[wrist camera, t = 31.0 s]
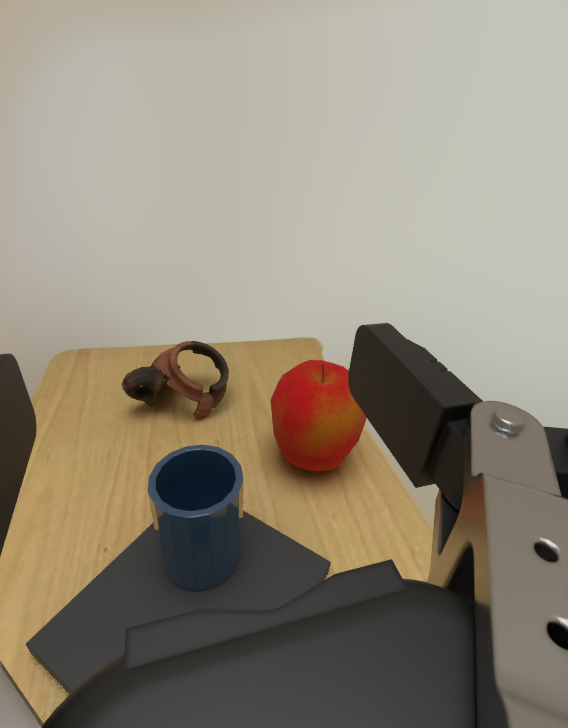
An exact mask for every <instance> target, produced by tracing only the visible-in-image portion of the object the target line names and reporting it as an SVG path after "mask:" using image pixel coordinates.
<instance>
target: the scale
mask: <svg viewBox="0 0 568 728" xmlns="http://www.w3.org/2000/svg"><path fill="white" fill-rule="evenodd" d="M329 568H330V561H328V560H326V559H325V558H323V557H321V556H320V555H318V554H316V553H314V552H313V551H311V550H309V549H308V548H306V547H304V546H303V545H301V544H299V543H297V542H296V541H294V540H292V539H291V538H289V537H287V536H286V535H284V534H282V533H280V532H279V531H277V530H275V529H274V528H272V527H270V526H269V525H267V524H265V523H263V522H262V521H260V520H258V519H257V518H255V517H253V516H252V515H250V514H248V513H246V512H245V511H243V548H242V555H241V559H240V562H239V565H238V567H237V569H236V570H235V572H234V573H233V574H232V575H231V577H230V578H228V579H227V580H226V581H225V582H224V583H222V584H221V585H219V586H217V587H215V588H212V589H209V590H205V591H188V590H184V589H182V588H179V587H177V586H176V585H174V584H173V583H172V582H171V581H170V580H169V579H168V578H167V577H166V575H165V573H164V571H163V568H162V564H161V562H160V556H159V551H158V545H157V540H156V534H155V528H154V523H152V524H151V525H150V526H149V527H148V528H147V529H146V530H145V531H144V532H143V533H142V534H141V535H140V536H139V537H138V538H137V539H136V540H135V541H134V542H132V543H131V544H130V545H129V546H128V547H127V548H126V549H125V550H124V551H123V552H122V553H121V554H120V555H119V556H118V557H117V558H116V559H115V560H114V561H112V562H111V563H110V564H109V565H108V566H107V567H106V568H105V569H104V570H103V571H102V572H101V573H100V574H99V575H98V576H97V577H96V578H95V579H93V580H92V581H91V582H90V583H89V584H88V585H87V586H86V587H85V588H84V589H83V590H82V591H81V592H80V593H79V594H78V595H77V596H76V597H75V598H73V599H72V600H71V601H70V602H69V603H68V604H67V605H66V606H65V607H64V608H63V609H62V610H61V611H60V612H59V613H58V614H57V615H56V616H55V617H53V618H52V619H51V620H50V621H49V622H48V623H47V624H46V625H45V626H44V627H43V628H42V629H41V630H40V631H39V632H38V633H37V634H36V635H35V636H33V637H32V638H31V639H30V640H29V641H28V642H27V643H26V646H27V648H28V649H29V651H30V653H31V654H32V655H33V656H34V657H35V658H36V659H37V660H38V661H39V662H40V664H41V665H42V666H43V667H44V668H45V669H46V670H47V671H48V672H49V673H50V674H51V675H52V676H53V677H54V678H55V679H56V680H57V681H58V682H59V683H60V684H61V685H62V686H63V687H64V689H65V690H66V691H67V692H68V693H69V694H71V693H72V692H73V691H74V690H75V689H76V688H77V687H78V686H79V685H81V684H82V683H83V682H84V681H85V680H86V679H87V678H89V677H90V676H91V675H92V674H93V673H95V672H96V671H98V670H99V669H100V668H102V667H103V666H105V665H106V664H107V663H109V662H110V661H112V660H113V659H115V658H117V657H119V656H120V655H122V654H124V653H125V629H126V628H130V627H134V626H138V625H142V624H146V623H149V622H153V621H157V620H161V619H165V618H169V617H172V616H176V615H180V614H184V613H188V612H192V611H195V610H199V609H235V610H271V609H276V608H279V607H281V606H283V605H284V604H286V603H288V602H289V601H291V600H293V599H294V598H296V597H298V596H299V595H301V594H303V593H304V592H306V591H308V590H309V589H311V588H313V587H314V586H316V585H318V584H319V583H321V582H323V581H324V579H325V578H326V576H327V574H328V572H329Z"/></svg>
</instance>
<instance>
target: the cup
mask: <svg viewBox="0 0 568 728" xmlns="http://www.w3.org/2000/svg"><path fill="white" fill-rule="evenodd" d="M148 495H149V500H150V506H151V511H152V517H153V523H154V528H155V534H156V540H157V545H158V551H159V556H160V562H161V564H162V568H163V571H164V573H165V575H166V577H167V578H168V579H169V580H170V581H171V582H172V583H173V584H174V585H176V586H177V587H179V588H182V589H184V590H188V591H205V590H209V589H212V588H215V587H217V586H219V585H221V584H222V583H224V582H225V581H226V580H227V579H228V578H230V577H231V575H232V574H233V573H234V572H235V570H236V569H237V567H238V565H239V562H240V559H241V555H242V548H243V474H242V469H241V465H240V464H239V462H238V461H237V460H236V459H235V458H234V456H233V455H232V454H230V453H228V452H227V451H225V450H223V449H221V448H218V447H213V446H207V445H196V446H187V447H183V448H181V449H179V450H176V451H174V452H171V453H170V454H168V455H167V456H165V457H164V458H163V459H162V460H160V461H159V462H158V463H157V464H156V466H155V467H154V469H153V471H152V472H151V474H150V476H149V480H148Z"/></svg>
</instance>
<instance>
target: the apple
mask: <svg viewBox="0 0 568 728" xmlns="http://www.w3.org/2000/svg"><path fill="white" fill-rule="evenodd" d="M348 374H349V371H348V370H347V369H345V368H344V367H343V366H339V365H337V364H334V363H330V362H326V361H322V360H309V361H306V362H303V363H300V364H299V365H297V366H296V367H294V368H293V369H291V370H290V371H288V372H287V373H285V374H283V375H282V377H281V379H280V381H279V382H278V384H277V386H276V389H275V391H274V393H273V396H272V398H271V410H272V420H273V430H274V436H275V439H276V441H277V444H278V446H279V448H280V451H281V453H282V456H283V457H284V458H285V459H286V460H287V461H288V462H289V463H291V464H293V465H295V466H297V467H299V468H301V469H306V470H310V471H328V470H330V469H333V468H336V467H338V466H339V464H340V463H341V462H342V461H343V460H344V459H345V457H346V456H347V455H348V454H349V452H350V451H351V450H352V448H353V447H354V446H355V445H356V443H357V442H358V441H359V438H360V435H361V432H362V430H363V427H364V424H365V421H366V418H367V417H366V415H365V414H364V413H363V411H362V410H361V408H360V407H359V405H358V404H357V403H356V401H355V400H354V398H353V397H352V395H351V392H350V389H349V383H348Z"/></svg>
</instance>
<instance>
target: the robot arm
mask: <svg viewBox="0 0 568 728" xmlns="http://www.w3.org/2000/svg"><path fill="white" fill-rule="evenodd" d="M348 383H349V389H350V392H351V395H352V397H353V398H354V400H355V401H356V403H357V404H358V405H359V407H360V408H361V410H362V411H363V413H364V414H365V415H366V417H367V418H368V420H369V421H370V423H371V424H372V426H373V427H374V428H375V430H376V431H377V433H378V434H379V436H380V437H381V439H382V440H383V441H384V443H385V444H386V446H387V447H388V449H389V450H390V451H391V453H392V454H393V456H394V457H395V459H396V460H397V462H398V463H399V464H400V466H401V467H402V469H403V470H404V472H405V473H406V475H407V476H408V477H409V479H410V480H411V482H412V483H413V485H414V486H415V487H416V488H418V487H422V486H427V485H432V484H436V485H437V486H438V488H439V489H440V490H439V492H438V495H437V497H436V503H435V517H434V529H433V542H432V555H431V566H430V572H429V577H428V581H427V582H423V581H417V580H410V579H402V577H401V575H400V574H399V572H398V570H397V568H396V566H395V564H394V562H393V560H392V559H391V560H387V561H383V562H380V563H376V564H372V565H368V566H364V567H360V568H357V569H353V570H349V571H345V572H341V573H337V574H334V575H333V576H331V577H329V578H328V579H326V580H324V581H323V582H321V583H319V584H318V585H316V586H314V587H313V588H311V589H309V590H308V591H306V592H304V593H303V594H301V595H299V596H298V597H296V598H294V599H293V600H291V601H289V602H288V603H286V604H284V605H283V606H281V607H279V608H276V609H271V610H235V609H199V610H195V611H192V612H188V613H184V614H180V615H176V616H172V617H169V618H165V619H161V620H157V621H153V622H149V623H146V624H142V625H138V626H134V627H130V628H126V629H125V653H124V654H122V655H120V656H119V657H117V658H115V659H113V660H112V661H110V662H109V663H107V664H106V665H105V666H103V667H102V668H100V669H99V670H98V671H96V672H95V673H93V674H92V675H91V676H90V677H89V678H87V679H86V680H85V681H84V682H83V683H82V684H81V685H79V686H78V687H77V688H76V689H75V690H74V691H73V692H72V693H71V694H70V695H69V696H68V697H67V698H66V699H65V700H64V701H63V702H62V703H61V704H60V705H59V706H58V707H57V708H56V709H55V710H54V712H53V713H52V714H51V715H50V717H49V718H48V719H47V720H46V722H45V723H44V724H43V722H42V721H41V719H40V718H39V717H38V715H37V714H36V712H35V711H34V709H33V708H32V706H31V705H30V703H29V702H28V701H27V699H26V698H25V696H24V695H23V693H22V692H21V690H20V689H19V687H18V686H17V684H16V683H15V682H14V680H13V679H12V677H11V676H10V674H9V673H8V671H7V670H6V668H5V667H4V665H3V664H2V662H1V661H0V728H568V429H563V428H553V427H543V426H542V425H541V424H540V422H539V421H538V420H537V419H535V418H534V417H533V416H532V415H530V414H529V413H527V412H526V411H524V410H522V409H520V408H518V407H516V406H513V405H510V404H507V403H503V402H497V401H484V402H483V401H482V400H481V399H480V398H479V397H478V396H477V395H475V393H473V392H472V391H471V390H470V389H469V388H468V387H467V386H466V385H465V384H463V383H462V382H461V381H460V380H459V379H458V378H457V377H456V376H455V375H454V374H453V373H451V372H450V371H447V368H446V367H445V366H444V365H443V364H441V363H440V362H437V359H436V358H435V357H434V356H433V355H432V354H430V353H429V352H428V351H427V350H426V349H425V348H423V347H421V346H419V345H417V344H415V343H413V342H412V341H410V340H408V339H406V338H405V337H404V336H403V335H401V334H400V333H399V332H398V331H397V330H396V329H395V328H394V327H393V326H392V325H391V324H389V323H382V324H370V325H361V326H360V327H359V328H358V329H357V332H356V336H355V341H354V347H353V352H352V357H351V363H350V368H349V374H348ZM35 437H36V418H35V413H34V409H33V406H32V403H31V400H30V397H29V395H28V392H27V389H26V386H25V383H24V380H23V377H22V374H21V371H20V368H19V365H18V363H17V361H16V359H15V357H14V356H13V355H12V354H0V555H1V552H2V549H3V545H4V542H5V539H6V535H7V532H8V529H9V525H10V522H11V518H12V515H13V512H14V508H15V505H16V502H17V498H18V495H19V492H20V488H21V485H22V482H23V478H24V475H25V471H26V468H27V465H28V461H29V458H30V455H31V451H32V448H33V445H34V441H35Z"/></svg>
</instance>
